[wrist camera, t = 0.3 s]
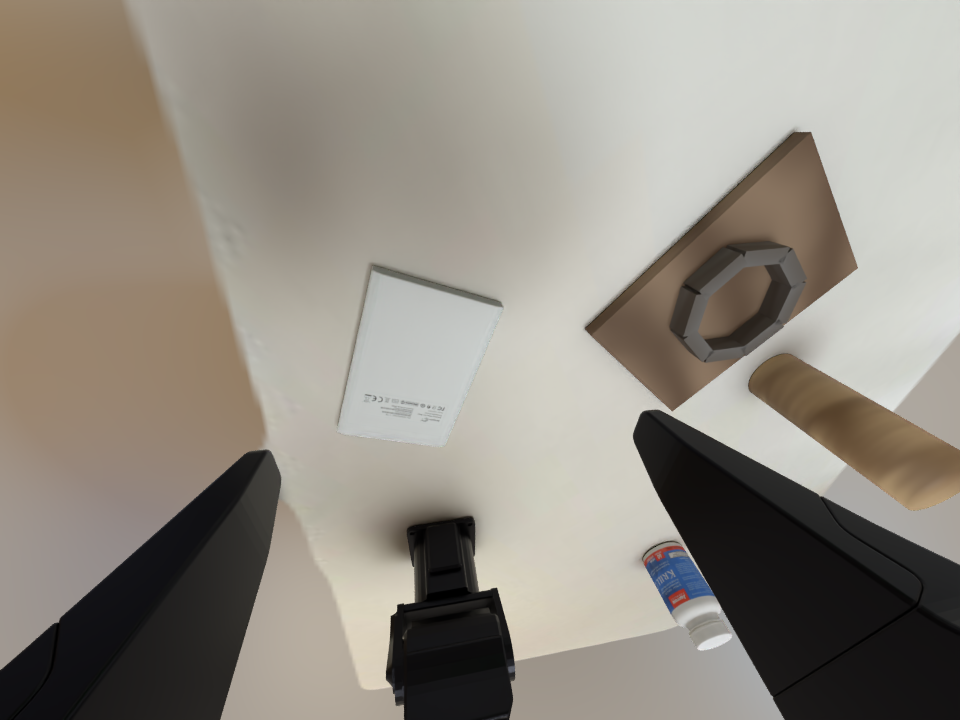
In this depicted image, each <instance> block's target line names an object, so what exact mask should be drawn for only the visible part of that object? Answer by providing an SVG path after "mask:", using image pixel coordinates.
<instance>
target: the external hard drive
mask: <svg viewBox="0 0 960 720" xmlns="http://www.w3.org/2000/svg"><path fill="white" fill-rule="evenodd" d="M502 310H503V305H502V303H501V302H498V301H495V300H491V299H488V298H484V297H481V296H477V295H474V294H470V293H467V292H463V291H460V290H456V289H453V288H449V287H446V286H443V285H439V284H435V283H432V282H428V281H425V280H422V279H418V278H415V277H411V276H408V275H404V274H401V273H397V272H394V271H391V270H387V269H384V268H380V267H377V266H372V270H371V275H370V279H369V284H368V289H367V293H366V298H365V302H364V307H363V312H362V316H361V321H360V325H359V330H358V334H357V339H356V344H355V348H354V353H353V358H352V362H351V367H350V371H349V376H348V381H347V385H346V390H345V394H344V399H343V404H342V408H341V413H340V418H339V422H338V427H337V432H338V433H340V434H343V435H350V436H357V437H365V438H373V439H381V440H389V441H396V442H404V443H411V444H419V445H426V446H433V447H443V446H445V444H446V442H447V440H448V437H449V435H450V433H451V430H452V428H453V426H454V423H455V421H456V419H457V417H458V414H459V412H460V410H461V407H462V405H463V403H464V400H465V398H466V396H467V393H468V391H469V388H470V386H471V384H472V381H473V379H474V377H475V374H476V372H477V370H478V367H479V365H480V363H481V360H482V358H483V356H484V353H485V351H486V349H487V346H488V344H489V341H490V339H491V337H492V334H493V332H494V329H495V327H496V325H497V322H498V320H499V318H500V315H501V313H502Z"/></svg>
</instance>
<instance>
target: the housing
mask: <svg viewBox="0 0 960 720" xmlns="http://www.w3.org/2000/svg"><path fill="white" fill-rule="evenodd" d="M857 268H858V267H857V264H856V261H855V258H854V255H853V252H852V249H851V246H850V244H849V241H848V238H847V235H846V232H845V229H844V226H843V223H842V220H841V218H840V215H839V212H838V209H837V206H836V203H835V200H834V197H833V194H832V191H831V189H830V186H829V183H828V180H827V177H826V174H825V171H824V168H823V165H822V162H821V160H820V157H819V154H818V151H817V148H816V145H815V142H814V139H813V136H812V134H811V132H794V133H793V134H792V135H791V136H790V137H789V138H788V139H787V140H786V141H785V142H784V143H783V144H782V145H780V146H779V147H778V148H777V149H776V150H775V151H774V152H773V153H772V154H771V155H770V156H769V157H768V158H767V159H766V160H764V161H763V162H762V163H761V164H760V165H759V166H758V167H757V168H756V169H755V170H754V171H753V172H752V173H751V174H750V175H748V176H747V177H746V178H745V179H744V180H743V181H742V182H741V183H740V184H739V185H738V186H737V187H736V188H735V189H734V190H733V191H731V192H730V193H729V194H728V195H727V196H726V197H725V198H724V199H723V200H722V201H721V202H720V203H719V204H718V205H717V206H715V207H714V208H713V209H712V210H711V211H710V212H709V213H708V214H707V215H706V216H705V217H704V218H703V219H702V220H701V221H699V222H698V223H697V224H696V225H695V226H694V227H693V228H692V229H691V230H690V231H689V232H688V233H687V234H686V235H685V236H683V237H682V238H681V239H680V240H679V241H678V242H677V243H676V244H675V245H674V246H673V247H672V248H671V249H670V250H669V251H668V252H666V253H665V254H664V255H663V256H662V257H661V258H660V259H659V260H658V261H657V262H656V263H655V264H654V265H653V266H652V267H650V268H649V269H648V270H647V271H646V272H645V273H644V274H643V275H642V276H641V277H640V278H639V279H638V280H637V281H636V282H634V283H633V284H632V285H631V286H630V287H629V288H628V289H627V290H626V291H625V292H624V293H623V294H622V295H621V296H620V297H618V298H617V299H616V300H615V301H614V302H613V303H612V304H611V305H610V306H609V307H608V308H607V309H606V310H605V311H604V312H603V313H601V314H600V315H599V316H598V317H597V318H596V319H595V320H594V321H593V322H592V323H591V324H590V325H589V326H588V327H587V328H585V329H586V331H587V332H588V333H589V334H590V335H591V336H592V337H593V338H594V339H595V340H596V341H597V342H599V343H600V344H601V345H602V346H603V347H604V348H605V349H606V350H607V351H608V352H609V353H610V354H611V355H612V356H614V357H615V358H616V359H617V360H618V361H619V362H620V363H621V364H622V365H623V366H624V367H625V368H626V369H627V370H629V371H630V372H631V373H632V374H633V375H634V376H635V377H636V378H637V379H638V380H639V381H640V382H641V383H642V384H644V385H645V386H646V387H647V388H648V389H649V390H650V391H651V392H652V393H653V394H654V395H655V396H656V397H657V398H659V399H660V400H661V401H662V402H663V403H664V404H665V405H666V406H667V407H668V408H669V409H670V410H671V411H673V410H675V409H676V408H677V407H679V406H680V405H681V404H682V403H684V402H685V401H686V400H688V399H689V398H690V397H692V396H693V395H694V394H695V393H697V392H698V391H699V390H701V389H702V388H703V387H704V386H706V385H707V384H708V383H710V382H711V381H712V380H714V379H715V378H716V377H717V376H719V375H720V374H721V373H723V372H724V371H725V370H727V369H728V368H729V367H730V366H732V365H733V364H734V363H736V362H737V361H738V360H739V359H741V358H742V357H743V356H747V355H748V354H749V353H751V352H752V351H753V350H754V349H756V348H757V347H758V346H760V345H761V344H762V343H764V342H765V341H766V340H767V339H769V338H770V337H771V336H773V335H774V334H775V333H777V332H778V331H779V330H780V329H782V328H783V327H784V326H783V325H785V324H786V323H787V322H789V321H790V320H791V319H793V318H794V317H795V316H796V315H798V314H799V313H800V312H802V311H803V310H804V309H806V308H807V307H808V306H809V305H811V304H812V303H813V302H815V301H816V300H817V299H818V298H820V297H821V296H822V295H824V294H825V293H826V292H828V291H829V290H830V289H831V288H833V287H834V286H835V285H837V284H838V283H839V282H840V281H842V280H843V279H844V278H846V277H847V276H848V275H850V274H851V273H852V272H853V271H855V270H856V269H857Z"/></svg>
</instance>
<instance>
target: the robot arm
mask: <svg viewBox="0 0 960 720" xmlns="http://www.w3.org/2000/svg"><path fill="white" fill-rule="evenodd" d="M633 440H634V443H635V445H636V448H637V450H638V452H639V454H640V457H641V459H642V461H643V463H644V466H645V468H646V470H647V472H648V475H649V477H650V479H651V481H652V484H653V486H654V488H655V490H656V492H657V494H658V496H659V498H660V500H661V502H662V504H663V505H664V507H665V509H666V511H667V512H668V514H669V516H670V518H671V520H672V521H673V523H674V525H675V527H676V528H677V530H678V532H679V534H680V535H681V537H682V539H683V541H684V542H685V544H686V546H687V548H688V550H689V551H690V553H691V555H692V557H693V558H694V560H695V562H696V564H697V565H698V567H699V569H700V571H701V572H702V574H703V576H704V578H705V580H706V581H707V583H708V585H709V587H710V588H711V590H712V592H713V594H714V595H715V597H716V599H717V601H718V602H719V604H720V606H721V608H722V610H723V611H724V613H725V615H726V617H727V618H728V620H729V622H730V624H731V625H732V627H733V629H734V631H735V632H736V634H737V636H738V638H739V639H740V641H741V643H742V645H743V646H744V648H745V650H746V652H747V654H748V655H749V657H750V659H751V660H752V662H753V664H754V666H755V668H756V670H757V671H758V673H759V675H760V677H761V678H762V680H763V682H764V683H765V685H766V687H767V689H768V691H769V692H770V694H771V695H772V696H773V700H774V702H775V704H776V705H777V707H778V709H779V711H780V712H781V714H782V716H783V718H784V719H785V720H960V565H959V564H957V563H955V562H953V561H951V560H949V559H947V558H944V557H942V556H940V555H938V554H936V553H934V552H932V551H930V550H928V549H926V548H924V547H921V546H919V545H917V544H915V543H913V542H911V541H909V540H907V539H905V538H903V537H900V536H899V535H897V534H895V533H893V532H890V531H888V530H886V529H884V528H882V527H880V526H878V525H876V524H874V523H872V522H870V521H868V520H866V519H864V518H863V517H861V516H859V515H857V514H855V513H853V512H851V511H849V510H847V509H845V508H843V507H841V506H839V505H837V504H836V503H834V502H832V501H830V500H828V499H826V498H824V497H822V496H819V495H818V494H817V493H815V492H813V491H811V490H809V489H807V488H805V487H804V486H802V485H800V484H798V483H796V482H794V481H792V480H790V479H789V478H787V477H785V476H783V475H781V474H779V473H777V472H775V471H773V470H772V469H770V468H768V467H766V466H764V465H762V464H760V463H758V462H756V461H755V460H753V459H751V458H749V457H747V456H745V455H743V454H741V453H740V452H738V451H736V450H734V449H732V448H730V447H728V446H726V445H724V444H723V443H721V442H719V441H717V440H715V439H713V438H711V437H709V436H708V435H706V434H704V433H702V432H700V431H698V430H696V429H694V428H692V427H691V426H689V425H687V424H685V423H683V422H681V421H679V420H677V419H675V418H674V417H672V416H670V415H668V414H666V413H664V412H662V411H660V410H647V411H643V412H642V413H641V414H640V417H639V419H638V422H637V425H636V427H635V430H634V433H633ZM280 487H281V474H280V472H279V469H278V467H277V464H276V462H275V459H274V457H273V454H272V453H271V451H269V450H257V451H250V452H248V453H246V454H244V455H243V456H242V457H241V458H240V459H239V460H238V461H237V462H235V463H234V464H233V465H232V466H231V467H230V468H229V469H228V470H226V471H225V472H224V473H223V474H222V475H221V476H220V477H219V478H217V479H216V480H215V481H214V482H213V483H212V484H211V485H209V486H208V487H207V488H206V489H205V490H204V491H203V492H202V493H200V494H199V496H197V497H196V498H195V499H194V500H193V501H192V502H190V503H189V504H188V505H187V506H186V507H185V508H184V509H183V510H181V511H180V512H179V513H178V514H177V515H176V516H175V517H173V518H172V519H171V520H170V521H169V522H168V523H167V524H166V525H165V526H164V527H162V528H161V529H160V530H159V531H158V532H157V533H155V534H154V535H153V536H152V537H151V538H150V539H149V540H148V541H146V542H145V543H144V544H143V545H142V546H141V547H140V548H139V549H137V550H136V551H135V552H134V553H133V554H132V555H131V556H129V558H127V559H126V560H125V561H124V562H123V563H122V564H121V565H119V566H118V567H117V568H116V569H115V570H114V571H113V572H112V573H110V574H109V575H108V576H107V577H106V578H105V579H104V580H103V581H102V582H100V583H99V584H98V585H97V586H96V587H95V588H93V589H92V590H91V591H90V592H89V593H88V594H87V595H86V596H84V597H83V598H82V599H81V600H80V601H79V602H78V603H77V604H75V605H74V606H73V607H72V608H71V609H70V610H69V611H68V612H66V613H65V614H64V615H63V616H62V617H61V618H60V620H59V623H54V624H53V625H52V626H50V628H48V629H47V630H46V631H45V632H44V633H43V634H41V635H40V636H39V637H38V638H37V639H36V640H35V641H33V642H32V643H31V644H30V645H29V646H28V647H27V648H26V649H24V650H23V651H22V652H21V653H20V654H19V655H17V656H16V657H15V658H14V659H13V660H12V661H11V662H10V663H8V664H7V665H6V666H5V667H4V668H3V669H1V670H0V720H220V719H221V715H222V711H223V708H224V705H225V701H226V698H227V695H228V691H229V688H230V684H231V681H232V678H233V674H234V671H235V667H236V664H237V660H238V657H239V653H240V650H241V647H242V643H243V640H244V636H245V633H246V629H247V626H248V623H249V620H250V616H251V613H252V609H253V606H254V602H255V599H256V596H257V592H258V589H259V585H260V582H261V579H262V575H263V571H264V568H265V565H266V561H267V557H268V554H269V549H270V544H271V538H272V533H273V527H274V521H275V515H276V510H277V504H278V498H279V493H280ZM407 537H408V543H409V549H410V555H411V560H412V566H413V567H414V581H415V603H411V604H405V605H404V603H403V604H398V605H397V612H396V613H395V614H394V615H392V616H391V627H390V644H389V652H388V660H387V668H386V680H387V681H388V682H389V683H390V685H391V686H392V687H393V694H395V702H396V706H400V705H404V720H509V718H510V713H511V708H512V703H513V695H512V689H511V683H510V681H514V680H515V664H514V655H513V649H512V643H511V638H510V634H509V630H508V626H507V623H506V619H505V615H504V612H503V608H502V604H501V601H500V597H499V593H498V590H497V588H492V589H491V590H487V591H481V592H479V588H478V581H477V575H476V569H475V563H474V556H475V521H474V519H473V518H465V519H458V520H452V521H445V522H439V523H432V524H426V525H419V526H413V527H409V528H408V529H407Z"/></svg>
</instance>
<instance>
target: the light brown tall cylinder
mask: <svg viewBox="0 0 960 720" xmlns="http://www.w3.org/2000/svg"><path fill="white" fill-rule="evenodd" d="M748 386H749V390H750V392H751V393H753V394H754V395H755V396H757V397H758V398H759V399H761V400H762V401H763V402H765V403H766V404H767V405H769V406H770V407H771V408H773V409H774V410H775V411H777V412H778V413H780V414H781V415H782V416H784V417H785V418H786V419H788V420H789V421H790V422H792V423H793V424H794V425H796V426H797V427H798V428H800V429H801V430H802V431H804V432H805V433H806V434H808V435H809V436H810V437H812V438H813V439H814V440H816V441H817V442H818V443H820V444H821V445H823V446H824V447H825V448H827V449H828V450H829V451H831V452H832V453H833V454H835V455H836V456H837V457H839V458H840V459H841V460H843V461H844V462H845V463H847V464H848V465H849V466H851V467H852V468H853V469H855V470H856V471H857V472H859V473H860V474H862V475H863V476H864V477H866V478H867V479H868V480H870V481H871V482H872V483H874V484H875V485H876V486H878V487H879V488H880V489H882V490H883V491H884V492H886V493H887V494H888V495H890V496H891V497H892V498H894V499H895V500H896V501H898V502H899V503H901V504H902V505H903V506H905V507H906V508H907V509H909V510H913V511H915V510H921V509H925V508H929V507H931V506H934V505H936V504H939V503H941V502H943V501H945V500H947V499H949V498H951V497H952V496H954V495H956V494H957V493H959V492H960V450H958V449H957V448H955V447H953V446H951V445H950V444H948V443H946V442H944V441H943V440H941V439H939V438H937V437H935V436H934V435H932V434H930V433H928V432H927V431H925V430H923V429H921V428H920V427H918V426H916V425H914V424H913V423H911V422H909V421H907V420H905V419H904V418H902V417H900V416H899V415H897V414H895V413H893V412H891V411H890V410H888V409H886V408H884V407H883V406H881V405H879V404H877V403H876V402H874V401H872V400H870V399H869V398H867V397H865V396H863V395H862V394H860V393H858V392H856V391H854V390H853V389H851V388H849V387H847V386H846V385H844V384H842V383H840V382H839V381H837V380H835V379H833V378H832V377H830V376H828V375H826V374H825V373H823V372H821V371H819V370H817V369H816V368H814V367H812V366H810V365H809V364H807V363H805V362H803V361H802V360H800V359H798V358H796V357H795V356H793V355H791V354H781V355H777V356H775V357H772V358H770V359H769V360H767V361H766V362H764V363H763V364H762V365H761V366H759V367H758V368H757V369H756V371H755V372H754V373H753V375H752V376H751V378H750V381H749V385H748Z"/></svg>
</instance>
